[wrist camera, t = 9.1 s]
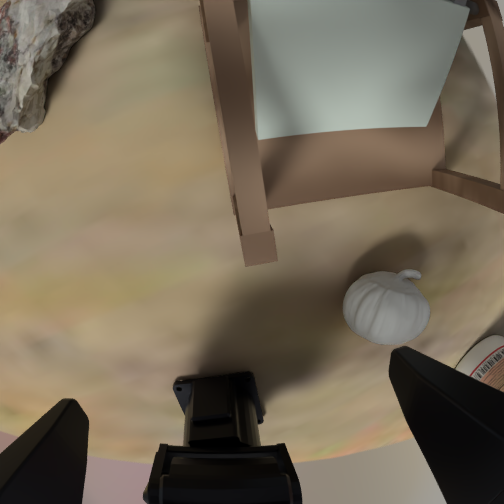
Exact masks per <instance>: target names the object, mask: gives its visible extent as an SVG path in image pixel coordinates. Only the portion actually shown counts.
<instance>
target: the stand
mask: <svg viewBox="0 0 504 504" xmlns="http://www.w3.org/2000/svg"><path fill="white" fill-rule="evenodd" d="M200 5H201V6H199V11H200V17H201V24H202V30H203V36H204V42H205V49H206V55H207V61H208V67H209V73H210V79H211V85H212V91H213V97H214V103H215V109H216V115H217V121H218V127H219V133H220V138H221V144H222V150H223V156H224V162H225V167H226V173H227V179H228V185H229V190H230V196H231V202H232V207H233V213H234V215H236V220H237V225H238V230H239V235H240V241H241V246H242V251H243V256H244V261H245V267H247V266H253V265H258V264H264V263H269V262H275V261H278V260H277V253H276V245H275V238H274V231H273V229H272V227H271V225H270V223H269V216H268V209H272V208H278V207H284V206H290V205H297V204H303V203H309V202H316V201H322V200H329V199H335V198H342V197H349V196H356V195H363V194H370V193H377V192H385V191H392V190H400V189H408V188H416V187H424V186H431V187H434V188H437V189H440V190H443V191H446V192H449V193H452V194H454V195H457V196H460V197H463V198H465V199H468V200H471V201H473V202H476V203H478V204H481V205H484V206H486V207H489V208H491V209H494V210H496V211H498V212H501V213H503V214H504V27H503V24H502V17H501V13H500V10H499V7H498V3H497V1H495V0H467V1H466V5H465V6H467V7H468V8H469V9H470V11H469V14H468V18H467V21H466V24H465V27H464V30H466V29H470V28H473V27H477V26H481V25H483V29H484V33H485V37H486V41H487V46H488V51H489V55H490V61H491V66H492V71H493V78H494V84H495V91H496V99H497V108H498V119H499V132H500V157H501V181H500V184H497V183H494V182H491V181H487V180H484V179H481V178H477V177H474V176H470V175H466V174H463V173H459V172H455V171H451V170H447V169H446V167H445V146H444V132H443V121H442V111H441V103H440V96H439V98H438V101H437V103H436V105H435V108H434V110H433V112H432V115H431V117H430V119H429V122H428V124H427V126H426V127H392V128H371V129H355V130H342V131H330V132H320V133H310V134H301V135H292V136H284V137H277V138H269V139H262V140H258V137H257V134H256V130H255V112H254V95H253V79H252V63H251V47H250V31H249V16H248V2H247V0H236V1H233V0H200Z"/></svg>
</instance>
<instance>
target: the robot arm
mask: <svg viewBox="0 0 504 504" xmlns="http://www.w3.org/2000/svg"><path fill="white" fill-rule="evenodd" d="M247 377H249V378H247ZM389 378H390V381H391V383H392V386H393V388H394V391H395V393H396V396H397V399H398V401H399V404H400V406H401V409H402V412H403V414H404V417H405V419H406V422H407V424H408V426H409V428H410V430H411V432H412V434H413V435H414V437H415V439H416V441H417V443H418V445H419V447H420V449H421V451H422V453H423V455H424V457H425V459H426V461H427V463H428V465H429V467H430V469H431V471H432V473H433V475H434V477H435V479H436V481H437V483H438V485H439V488H440V490H441V492H442V494H443V496H444V498H445V500H446V503H447V504H504V392H503V391H500V390H498V389H496V388H494V387H492V386H490V385H487V384H485V383H483V382H481V381H479V380H477V379H475V378H473V377H470V376H468V375H466V374H464V373H462V372H460V371H458V370H456V369H454V368H451V367H449V366H447V365H445V364H443V363H441V362H439V361H437V360H435V359H433V358H430V357H428V356H426V355H424V354H422V353H420V352H418V351H416V350H414V349H412V348H410V347H407V346H402V347H399V348H396V349H394V350H393V351H392V352H391V358H390V365H389ZM178 387H181V388H178ZM173 391H174V393H175V395H176V397H177V399H178V402H179V404H180V406H181V408H182V410H183V412H184V414H185V426H184V441H183V446H172V445H168V444H161V443H160V446H159V450H158V452H156V455H155V459H154V463H153V467H152V471H151V475H150V478H149V482H148V484H147V486H146V488H145V490H144V492H143V500H144V501H145V502H146V503H147V504H302V493H301V487H300V482H299V479H298V476H297V474H296V471H295V469H294V466H293V463H292V461H291V458H290V456H289V453H288V451H287V448H286V445H285V443H280V444H277V445H268V446H261V443H260V437H259V430H258V424H261V423H263V421H264V420H263V415H262V410H261V406H260V401H259V397H258V392H257V388H256V383H255V379H254V375H253V373H251V372H242V373H235V374H229V375H223V376H216V377H209V378H201V379H193V380H185V381H177V382H175V383H174V384H173ZM88 433H89V420H88V417H87V415H86V414H85V412H84V411H83V409H82V408H81V406H80V405H79V403H78V402H77V401H76V400H75V399H70V398H64V399H62V400H60V401H59V402H58V403H57V404H56V405H55V406H54V407H52V408H51V409H50V410H49V411H48V412H47V413H46V414H44V415H43V416H42V417H41V418H40V419H39V420H38V421H37V422H35V423H34V424H33V425H32V426H31V427H30V428H29V429H27V430H26V431H25V432H24V433H23V434H22V435H21V436H20V437H18V438H17V439H16V440H15V441H14V442H13V443H12V444H11V445H9V446H8V447H7V448H6V449H5V450H4V451H3V452H2V453H1V454H0V504H82V498H83V490H84V482H85V475H86V465H87V449H88Z"/></svg>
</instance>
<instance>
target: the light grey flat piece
mask: <svg viewBox="0 0 504 504" xmlns="http://www.w3.org/2000/svg"><path fill="white" fill-rule="evenodd" d="M466 1H467V0H247V2H248V16H249V31H250V47H251V63H252V79H253V95H254V112H255V130H256V134H257V137H258V140H262V139H269V138H277V137H284V136H292V135H301V134H310V133H320V132H330V131H342V130H355V129H371V128H392V127H426V126H427V124H428V122H429V119H430V117H431V115H432V112H433V110H434V108H435V105H436V103H437V101H438V98H439V96H440V93H441V91H442V88H443V86H444V83H445V81H446V78H447V75H448V73H449V70H450V67H451V65H452V62H453V59H454V56H455V54H456V51H457V48H458V45H459V42H460V39H461V36H462V33H463V30H464V27H465V24H466V21H467V18H468V14H469V11H470V9H469V8H468V7H467V6H465V5H466Z"/></svg>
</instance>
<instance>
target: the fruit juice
mask: <svg viewBox="0 0 504 504" xmlns="http://www.w3.org/2000/svg"><path fill="white" fill-rule="evenodd" d="M455 369H456V370H458V371H460V372H462V373H464V374H466V375H468V376H470V377H473V378H475V379H477V380H479V381H481V382H483V383H485V384H487V385H490V386H492V387H494V388H496V389H498V390H500V391H503V392H504V337H503V336H500V335H492V336H489V337H487V338H485V339H484V340H482V341H480V342H479V343H478V344H476V345H475V346H474V347H473V348H472V349H471V350H470V351H469V352H468V353H467V354H466V355H465V356H464V357H463V359H462V360H461V361H460V362H459V364H458V365H457V367H456V368H455Z"/></svg>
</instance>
